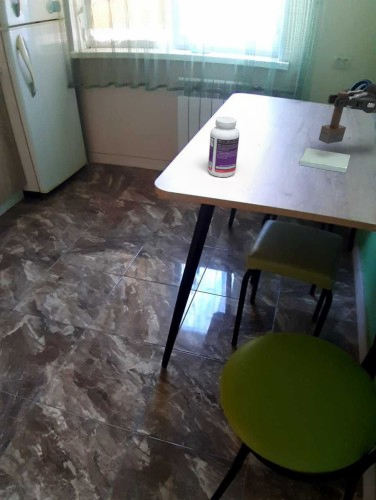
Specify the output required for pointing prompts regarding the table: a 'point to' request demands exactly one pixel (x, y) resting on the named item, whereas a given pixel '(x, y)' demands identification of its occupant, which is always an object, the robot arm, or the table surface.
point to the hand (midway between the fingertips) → (332, 100)
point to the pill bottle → (223, 147)
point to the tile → (325, 160)
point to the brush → (334, 125)
